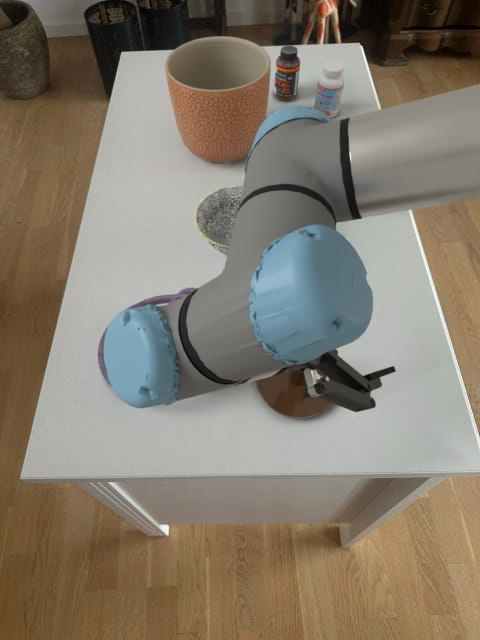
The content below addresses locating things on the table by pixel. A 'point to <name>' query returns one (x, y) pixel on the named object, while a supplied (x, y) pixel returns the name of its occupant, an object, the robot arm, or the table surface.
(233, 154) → the planter
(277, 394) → the jar lid
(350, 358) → the table surface
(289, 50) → the supplement bottle
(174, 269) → the table surface
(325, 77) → the pill bottle
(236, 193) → the bowl
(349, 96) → the table surface
